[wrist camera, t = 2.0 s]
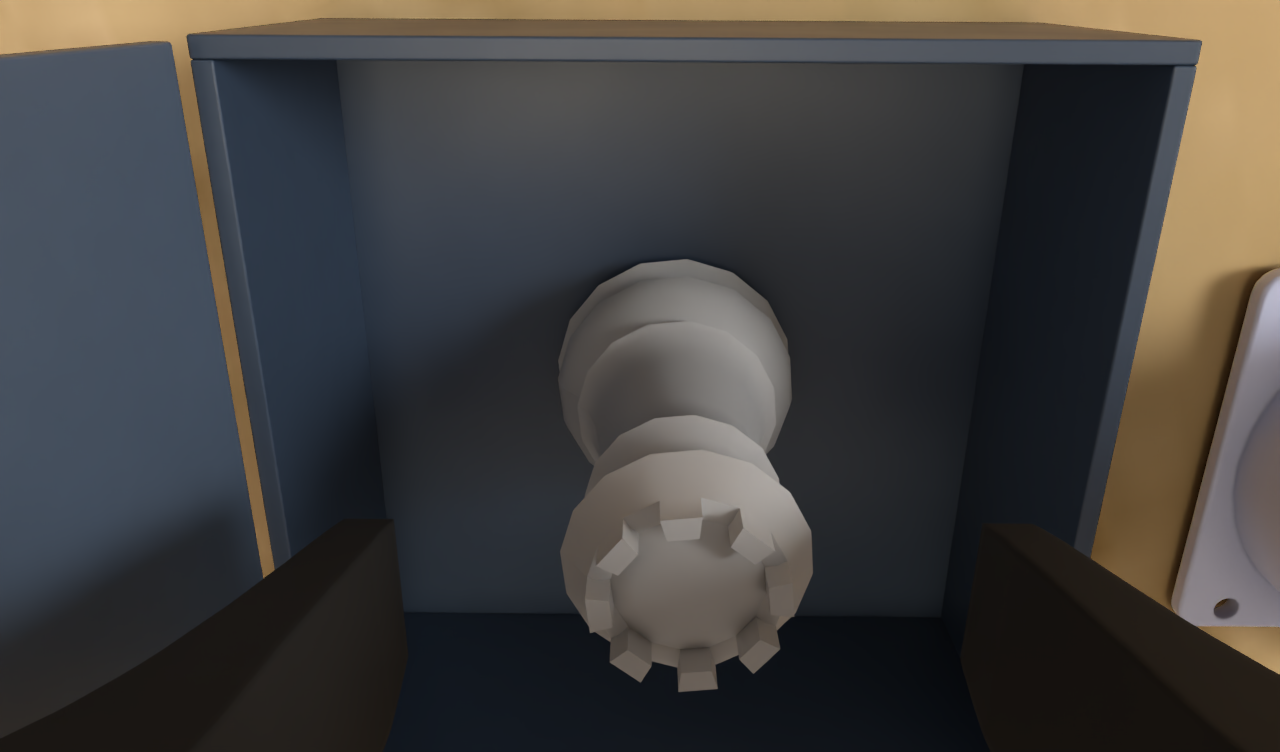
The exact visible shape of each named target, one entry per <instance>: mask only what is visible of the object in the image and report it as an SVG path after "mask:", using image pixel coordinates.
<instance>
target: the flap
mask: <svg viewBox="0 0 1280 752" xmlns="http://www.w3.org/2000/svg"><path fill="white" fill-rule="evenodd" d="M262 579H263V574H262V568H261V563H260V557H259V551H258V545H257V539H256V534H255V528H254V522H253V516H252V510H251V504H250V499H249V493H248V487H247V481H246V475H245V470H244V464H243V458H242V452H241V446H240V440H239V435H238V429H237V423H236V417H235V411H234V406H233V400H232V394H231V388H230V382H229V376H228V371H227V365H226V359H225V353H224V347H223V342H222V336H221V330H220V324H219V318H218V313H217V307H216V301H215V295H214V289H213V283H212V278H211V272H210V266H209V260H208V254H207V249H206V243H205V237H204V231H203V225H202V219H201V214H200V208H199V202H198V196H197V190H196V185H195V179H194V173H193V167H192V161H191V155H190V150H189V144H188V138H187V132H186V126H185V121H184V115H183V109H182V103H181V97H180V91H179V86H178V80H177V74H176V68H175V62H174V57H173V51H172V45H171V43H169V42H159V41H148V42H137V43H126V44H115V45H103V46H92V47H81V48H70V49H58V50H47V51H36V52H24V53H13V54H2V55H0V738H2V737H4V736H7V735H9V734H11V733H13V732H15V731H17V730H19V729H21V728H23V727H25V726H27V725H29V724H31V723H33V722H35V721H37V720H40V719H42V718H44V717H46V716H48V715H50V714H52V713H54V712H56V711H58V710H60V709H62V708H63V707H65V706H67V705H69V704H71V703H73V702H75V701H76V700H78V699H80V698H82V697H84V696H85V695H87V694H89V693H91V692H92V691H94V690H96V689H98V688H99V687H101V686H103V685H105V684H107V683H108V682H110V681H112V680H114V679H115V678H117V677H119V676H121V675H122V674H124V673H126V672H127V671H129V670H131V669H132V668H134V667H136V666H137V665H139V664H141V663H142V662H144V661H145V660H147V659H149V658H150V657H152V656H153V655H155V654H157V653H158V652H160V651H161V650H163V649H164V648H166V647H167V646H169V645H170V644H172V643H173V642H175V641H176V640H177V639H179V638H180V637H182V636H183V635H185V634H186V633H188V632H189V631H191V630H192V629H194V628H195V627H197V626H198V625H199V624H201V623H202V622H204V621H205V620H207V619H208V618H210V617H211V616H213V615H214V614H216V613H217V612H219V611H220V610H222V609H223V608H224V607H226V606H227V605H229V604H230V603H232V602H233V601H234V600H236V599H237V598H238V597H240V596H241V595H242V594H244V593H245V592H246V591H248V590H249V589H250V588H252V587H253V586H254V585H256V584H257V583H258V582H260V581H261V580H262Z"/></svg>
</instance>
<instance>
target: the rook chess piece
mask: <svg viewBox="0 0 1280 752" xmlns="http://www.w3.org/2000/svg"><path fill="white" fill-rule="evenodd" d="M558 363H559V370H560V373H559V377H558V383H559V390H560V397H561V404H562V411H563V418H564V421H565V423H566V425H567V427H568V429H569V431H570V432H571V434H572V435H573V437H574V439H575V440H576V442H577V443H578V445H579V447H580V448H581V450H582V451H583V453H584V455H585V456H586V458H587V459H588V461H589V462H590V463H591V464H592V465H594V468H593V471H592V474H591V477H590V480H589V483H588V487H587V490H586V493H585V498H584V499H583V500H582V501H581V502H580V503H579V504H578V506H577V507H576V508H575V509H574V510H573V512H572V515H571V519H570V522H569V525H568V528H567V531H566V534H565V538H564V541H563V544H562V547H561V550H560V555H561V561H562V568H563V574H564V581H565V587H566V593H567V595H568V596H569V598H570V599H571V601H572V602H573V604H574V605H575V607H576V608H577V610H578V611H579V613H580V614H581V616H582V617H583V619H584V620H585V622H586V623H587V625H588V626H589V630H590V633H593V632H596V633H597V634H599V635H600V636H602V637H603V638H605V639H606V640H608V641H609V642H611V645H610V663H612V664H613V665H615V666H616V667H618V668H619V669H621V670H622V671H624V672H625V673H627V674H628V675H630V676H631V677H633V678H634V679H636V680H637V681H639V682H640V683H641V681H642V680H643V678H644V677H645V675H646V674H647V672H648V671H649V669H650V668H651V666H652V661H653V662H657V663H661V664H665V665H669V666H673V667H677V672H678V692H685V691H698V690H711V689H718V686H717V676H716V666H715V665H716V664H718V663H721V662H723V661H725V660H728V659H730V658H732V657H735V656H737V655H739V660H740V661H741V662H742V663H743V664H744V665H745V666H746V667H747V668H748V669H749V670H750V671H751V672H752V673H753V674H754V673H755V672H756V671H757V670H758V669H759V668H761V667H762V666H763V665H764V664H765V663H766V662H767V661H768V660H769V659H770V658H771V657H772V656H773V655H775V654H776V653H777V652H778V651H779V650H780V644H779V639H778V634H777V630H778V629H779V628H780V627H781V626H782V625H783V624H784V623H785V622H786V621H788V620H789V619H790V618H791V617H794V614H795V613H796V611H797V609H798V607H799V604H800V602H801V600H802V597H803V595H804V593H805V591H806V588H807V586H808V584H809V581H810V579H811V577H812V575H813V562H812V536H811V530H810V528H809V526H808V524H807V522H806V520H805V519H804V517H803V515H802V513H801V511H800V509H799V508H798V506H797V504H796V502H795V500H794V498H793V497H792V495H791V493H790V492H789V491H788V490H787V489H785V488H784V487H783V486H781V485H780V484H779V478H778V476H777V474H776V472H775V470H774V469H773V467H772V465H771V463H770V461H769V459H768V458H767V456H766V454H767V453H768V452H769V451H770V450H771V449H772V448H773V447H774V445H775V443H776V440H777V438H778V435H779V433H780V430H781V428H782V425H783V423H784V420H785V417H786V415H787V412H788V410H789V407H790V404H791V402H792V387H791V365H790V356H789V354H788V340H787V338H786V336H785V334H784V332H783V330H782V328H781V326H780V324H779V322H778V320H777V318H776V316H775V314H774V312H773V310H772V308H771V306H770V305H769V303H768V301H767V300H766V299H765V298H763V297H762V296H761V295H760V294H758V293H757V292H756V291H755V290H754V289H752V288H751V287H750V286H749V285H747V284H746V283H745V282H744V281H743V280H741V279H740V278H739V277H738V276H736V275H735V274H734V273H733V272H730V271H726V270H723V269H719V268H716V267H713V266H709V265H706V264H702V263H699V262H696V261H692V260H689V259H683V260H673V261H662V262H652V263H641V264H638V265H637V266H635V267H633V268H631V269H629V270H627V271H625V272H623V273H621V274H619V275H617V276H615V277H613V278H611V279H610V280H608V281H606V282H604V283H602V284H600V285H598V287H597V288H596V289H595V290H594V291H593V293H592V294H591V295H590V296H589V297H588V299H587V300H586V301H585V302H584V303H583V305H582V306H581V307H580V308H579V309H578V311H577V312H576V313H575V314H574V315H573V317H572V318H571V319H570V321H569V325H568V328H567V332H566V335H565V339H564V342H563V346H562V349H561V353H560V356H559V360H558Z"/></svg>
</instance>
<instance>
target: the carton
mask: <svg viewBox="0 0 1280 752" xmlns="http://www.w3.org/2000/svg"><path fill="white" fill-rule="evenodd" d="M187 42H188V48H189V54H190V58H191V59H193V60H191V67H192V73H193V79H194V85H195V91H196V97H197V103H198V109H199V115H200V121H201V127H202V133H203V139H204V145H205V151H206V157H207V163H208V169H209V175H210V181H211V187H212V193H213V199H214V205H215V211H216V217H217V223H218V230H219V236H220V242H221V248H222V254H223V260H224V266H225V272H226V278H227V284H228V290H229V296H230V302H231V308H232V314H233V320H234V326H235V332H236V338H237V344H238V350H239V356H240V362H241V368H242V374H243V380H244V386H245V392H246V398H247V405H248V411H249V417H250V423H251V429H252V435H253V441H254V447H255V453H256V459H257V465H258V471H259V477H260V483H261V489H262V495H263V501H264V507H265V513H266V519H267V525H268V531H269V537H270V543H271V549H272V555H273V561H274V567H275V570H276V569H277V568H278V567H280V566H281V565H282V564H284V563H285V562H286V561H288V560H289V559H290V558H291V557H293V556H294V555H295V554H297V553H298V552H299V551H301V550H302V549H303V548H305V547H306V546H307V545H308V544H310V543H311V542H312V541H314V540H315V539H316V538H318V537H319V536H320V535H322V534H323V533H324V532H326V531H327V530H328V529H330V528H331V527H333V526H334V525H336V524H337V523H339V522H340V521H342V520H343V519H394V526H395V535H396V544H397V554H398V563H399V572H400V582H401V591H402V600H403V610H404V619H405V628H406V637H407V647H408V660H407V664H406V669H405V673H404V678H403V682H402V686H401V691H400V695H399V700H398V704H397V708H396V712H395V716H394V720H393V724H392V728H391V731H390V734H389V736H388V739H387V742H386V745H385V747H384V750H383V752H990V749H989V747H988V745H987V743H986V740H985V738H984V736H983V733H982V730H981V727H980V724H979V721H978V718H977V715H976V712H975V709H974V706H973V702H972V699H971V696H970V692H969V689H968V685H967V682H966V679H965V675H964V672H963V668H962V665H961V661H960V657H961V651H962V645H963V639H964V633H965V627H966V620H967V614H968V608H969V602H970V596H971V590H972V584H973V578H974V572H975V566H976V560H977V553H978V547H979V541H980V535H981V529H982V523H1005V524H1034V525H1036V526H1038V527H1040V528H1042V529H1044V530H1045V531H1047V532H1049V533H1051V534H1052V535H1054V536H1056V537H1057V538H1059V539H1060V540H1062V541H1064V542H1065V543H1067V544H1068V545H1070V546H1072V547H1073V548H1075V549H1076V550H1078V551H1079V552H1081V553H1083V554H1084V555H1086V556H1087V557H1089V558H1090V557H1091V552H1092V547H1093V543H1094V538H1095V534H1096V529H1097V524H1098V520H1099V515H1100V511H1101V506H1102V501H1103V497H1104V492H1105V488H1106V483H1107V478H1108V474H1109V469H1110V465H1111V460H1112V455H1113V451H1114V446H1115V442H1116V437H1117V432H1118V428H1119V423H1120V418H1121V414H1122V409H1123V405H1124V400H1125V395H1126V391H1127V386H1128V382H1129V377H1130V372H1131V368H1132V363H1133V359H1134V354H1135V349H1136V345H1137V340H1138V336H1139V331H1140V326H1141V322H1142V317H1143V313H1144V308H1145V303H1146V299H1147V294H1148V290H1149V285H1150V280H1151V276H1152V271H1153V267H1154V262H1155V257H1156V253H1157V248H1158V244H1159V239H1160V234H1161V230H1162V225H1163V220H1164V216H1165V211H1166V207H1167V202H1168V197H1169V193H1170V188H1171V184H1172V179H1173V174H1174V170H1175V165H1176V161H1177V156H1178V151H1179V147H1180V142H1181V138H1182V133H1183V128H1184V124H1185V119H1186V115H1187V110H1188V105H1189V101H1190V96H1191V92H1192V87H1193V82H1194V78H1195V73H1196V66H1194V65H1196V64H1197V63H1198V59H1199V55H1200V50H1201V45H1202V41H1200V40H1194V39H1185V38H1176V37H1167V36H1158V35H1148V34H1139V33H1130V32H1121V31H1112V30H1103V29H1093V28H1084V27H1075V26H1066V25H1057V24H1048V23H1018V22H850V21H683V20H516V19H348V18H320V19H312V20H303V21H295V22H286V23H278V24H269V25H261V26H252V27H244V28H235V29H227V30H218V31H210V32H201V33H193V34H188V35H187ZM683 259H689V260H692V261H696V262H699V263H702V264H706V265H709V266H713V267H716V268H719V269H723V270H726V271H730V272H733V273H734V274H735V275H736V276H738V277H739V278H740V279H741V280H743V281H744V282H745V283H746V284H747V285H749V286H750V287H751V288H752V289H754V290H755V291H756V292H757V293H758V294H760V295H761V296H762V297H763V298H765V299H766V300H767V301H768V303H769V305H770V306H771V308H772V310H773V312H774V314H775V316H776V318H777V320H778V322H779V324H780V326H781V328H782V330H783V332H784V334H785V336H786V338H787V340H788V354H789V356H790V365H791V387H792V402H791V404H790V407H789V410H788V412H787V415H786V417H785V420H784V423H783V425H782V428H781V430H780V433H779V435H778V438H777V440H776V443H775V445H774V447H773V448H772V449H771V450H770V451H769V452H768V453H767V454H766V456H767V458H768V459H769V461H770V463H771V465H772V467H773V469H774V470H775V472H776V474H777V476H778V478H779V484H780V485H781V486H783V487H784V488H785V489H787V490H788V491H789V492H790V493H791V495H792V497H793V498H794V500H795V502H796V504H797V506H798V508H799V509H800V511H801V513H802V515H803V517H804V519H805V520H806V522H807V524H808V526H809V528H810V530H811V536H812V562H813V575H812V577H811V579H810V581H809V584H808V586H807V588H806V591H805V593H804V595H803V597H802V600H801V602H800V604H799V607H798V609H797V611H796V613H795V614H794V617H791V618H790V619H789V620H788V621H786V622H785V623H784V624H783V625H782V626H781V627H780V628H779V629H778V630H777V634H778V639H779V644H780V650H779V651H778V652H777V653H776V654H775V655H773V656H772V657H771V658H770V659H769V660H768V661H767V662H766V663H765V664H764V665H763V666H762V667H761V668H759V669H758V670H757V671H756V672H755V673H754V674H753V673H752V672H751V671H750V670H749V669H748V668H747V667H746V666H745V665H744V664H743V663H742V662H741V661H740V660H739V655H737V656H735V657H732V658H730V659H728V660H725V661H723V662H721V663H718V664H716V665H715V666H716V676H717V686H718V689H711V690H698V691H685V692H678V672H677V667H673V666H669V665H665V664H661V663H657V662H653V661H652V666H651V668H650V669H649V671H648V672H647V674H646V675H645V677H644V678H643V680H642V681H641V683H640V682H639V681H637V680H636V679H634V678H633V677H631V676H630V675H628V674H627V673H625V672H624V671H622V670H621V669H619V668H618V667H616V666H615V665H613V664H612V663H610V645H611V642H609V641H608V640H606V639H605V638H603V637H602V636H600V635H599V634H597V633H596V632H593V633H590V630H589V626H588V625H587V623H586V622H585V620H584V619H583V617H582V616H581V614H580V613H579V611H578V610H577V608H576V607H575V605H574V604H573V602H572V601H571V599H570V598H569V596H568V595H567V593H566V587H565V581H564V574H563V568H562V561H561V555H560V550H561V547H562V544H563V541H564V538H565V534H566V531H567V528H568V525H569V522H570V519H571V515H572V512H573V510H574V509H575V508H576V507H577V506H578V504H579V503H580V502H581V501H582V500H583V499H584V498H585V493H586V490H587V487H588V483H589V480H590V477H591V474H592V471H593V468H594V465H592V464H591V463H590V462H589V461H588V459H587V458H586V456H585V455H584V453H583V451H582V450H581V448H580V447H579V445H578V443H577V442H576V440H575V439H574V437H573V435H572V434H571V432H570V431H569V429H568V427H567V425H566V423H565V421H564V418H563V411H562V404H561V397H560V390H559V383H558V377H559V373H560V370H559V363H558V360H559V356H560V353H561V349H562V346H563V342H564V339H565V335H566V332H567V328H568V325H569V321H570V319H571V318H572V317H573V315H574V314H575V313H576V312H577V311H578V309H579V308H580V307H581V306H582V305H583V303H584V302H585V301H586V300H587V299H588V297H589V296H590V295H591V294H592V293H593V291H594V290H595V289H596V288H597V287H598V285H600V284H602V283H604V282H606V281H608V280H610V279H611V278H613V277H615V276H617V275H619V274H621V273H623V272H625V271H627V270H629V269H631V268H633V267H635V266H637V265H638V264H641V263H652V262H662V261H673V260H683Z"/></svg>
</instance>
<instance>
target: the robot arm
mask: <svg viewBox="0 0 1280 752" xmlns="http://www.w3.org/2000/svg"><path fill="white" fill-rule="evenodd" d="M1223 599H1227V601H1226V603H1224V604H1223V605H1221V606H1220V607H1215V606H1216V604H1217V603H1218V602H1220V601H1221V600H1223ZM1171 606H1172V608H1173V610H1174V612H1175V613H1176V614H1175V613H1173V612H1172V611H1170V610H1169V609H1167V608H1166V607H1164V606H1162V605H1161V604H1159V603H1158V602H1156V601H1155V600H1153V599H1151V598H1150V597H1148V596H1147V595H1145V594H1144V593H1142V592H1141V591H1139V590H1138V589H1136V588H1134V587H1133V586H1131V585H1130V584H1128V583H1127V582H1125V581H1124V580H1122V579H1121V578H1119V577H1118V576H1116V575H1115V574H1113V573H1112V572H1110V571H1108V570H1107V569H1105V568H1104V567H1102V566H1101V565H1099V564H1098V563H1096V562H1095V561H1093V560H1092V559H1090V558H1089V557H1087V556H1086V555H1084V554H1083V553H1081V552H1079V551H1078V550H1076V549H1075V548H1073V547H1072V546H1070V545H1068V544H1067V543H1065V542H1064V541H1062V540H1060V539H1059V538H1057V537H1056V536H1054V535H1052V534H1051V533H1049V532H1047V531H1045V530H1044V529H1042V528H1040V527H1038V526H1036V525H1034V524H1005V523H982V529H981V535H980V541H979V547H978V553H977V560H976V566H975V572H974V578H973V584H972V590H971V596H970V602H969V608H968V614H967V620H966V627H965V633H964V639H963V645H962V651H961V657H960V661H961V665H962V668H963V672H964V675H965V679H966V682H967V685H968V689H969V692H970V696H971V699H972V702H973V706H974V709H975V712H976V715H977V718H978V721H979V724H980V727H981V730H982V733H983V736H984V738H985V740H986V743H987V745H988V747H989V749H990V752H1280V675H1279V674H1277V673H1276V672H1274V671H1272V670H1270V669H1268V668H1266V667H1265V666H1263V665H1261V664H1259V663H1258V662H1256V661H1254V660H1252V659H1251V658H1249V657H1247V656H1245V655H1244V654H1242V653H1240V652H1239V651H1237V650H1235V649H1233V648H1232V647H1230V646H1228V645H1226V644H1225V643H1223V642H1221V641H1219V640H1218V639H1216V638H1214V637H1213V636H1211V635H1209V634H1208V633H1206V632H1204V631H1203V630H1201V629H1199V628H1198V627H1196V626H1232V627H1280V268H1277V269H1273V270H1271V271H1269V272H1267V273H1265V274H1264V275H1263V276H1262V277H1261V278H1260V279H1259V280H1258V281H1257V282H1256V283H1255V285H1254V287H1253V290H1252V292H1251V295H1250V299H1249V303H1248V306H1247V310H1246V314H1245V318H1244V322H1243V326H1242V330H1241V333H1240V337H1239V341H1238V345H1237V349H1236V353H1235V356H1234V360H1233V364H1232V368H1231V372H1230V376H1229V379H1228V383H1227V387H1226V391H1225V395H1224V399H1223V403H1222V406H1221V410H1220V414H1219V418H1218V422H1217V426H1216V429H1215V433H1214V437H1213V441H1212V445H1211V449H1210V453H1209V456H1208V460H1207V464H1206V468H1205V472H1204V476H1203V479H1202V483H1201V487H1200V491H1199V495H1198V499H1197V502H1196V506H1195V510H1194V514H1193V518H1192V522H1191V526H1190V529H1189V533H1188V537H1187V541H1186V545H1185V549H1184V552H1183V556H1182V560H1181V564H1180V568H1179V572H1178V575H1177V579H1176V583H1175V587H1174V591H1173V595H1172V599H1171ZM1214 607H1215V608H1214ZM407 660H408V647H407V637H406V628H405V619H404V610H403V600H402V591H401V582H400V572H399V563H398V554H397V544H396V535H395V526H394V519H343V520H342V521H340V522H339V523H337V524H336V525H334V526H333V527H331V528H330V529H328V530H327V531H326V532H324V533H323V534H322V535H320V536H319V537H318V538H316V539H315V540H314V541H312V542H311V543H310V544H308V545H307V546H306V547H305V548H303V549H302V550H301V551H299V552H298V553H297V554H295V555H294V556H293V557H291V558H290V559H289V560H288V561H286V562H285V563H284V564H282V565H281V566H280V567H278V568H277V569H276V570H274V571H273V572H272V573H270V574H269V575H268V576H266V577H265V578H264V579H262V580H261V581H260V582H258V583H257V584H256V585H254V586H253V587H252V588H250V589H249V590H248V591H246V592H245V593H244V594H242V595H241V596H240V597H238V598H237V599H236V600H234V601H233V602H232V603H230V604H229V605H227V606H226V607H224V608H223V609H222V610H220V611H219V612H217V613H216V614H214V615H213V616H211V617H210V618H208V619H207V620H205V621H204V622H202V623H201V624H199V625H198V626H197V627H195V628H194V629H192V630H191V631H189V632H188V633H186V634H185V635H183V636H182V637H180V638H179V639H177V640H176V641H175V642H173V643H172V644H170V645H169V646H167V647H166V648H164V649H163V650H161V651H160V652H158V653H157V654H155V655H153V656H152V657H150V658H149V659H147V660H145V661H144V662H142V663H141V664H139V665H137V666H136V667H134V668H132V669H131V670H129V671H127V672H126V673H124V674H122V675H121V676H119V677H117V678H115V679H114V680H112V681H110V682H108V683H107V684H105V685H103V686H101V687H99V688H98V689H96V690H94V691H92V692H91V693H89V694H87V695H85V696H84V697H82V698H80V699H78V700H76V701H75V702H73V703H71V704H69V705H67V706H65V707H63V708H62V709H60V710H58V711H56V712H54V713H52V714H50V715H48V716H46V717H44V718H42V719H40V720H37V721H35V722H33V723H31V724H29V725H27V726H25V727H23V728H21V729H19V730H17V731H15V732H13V733H11V734H9V735H7V736H4V737H2V738H0V752H383V750H384V747H385V745H386V742H387V739H388V736H389V734H390V731H391V728H392V724H393V720H394V716H395V712H396V708H397V704H398V700H399V695H400V691H401V686H402V682H403V678H404V673H405V669H406V664H407Z"/></svg>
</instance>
